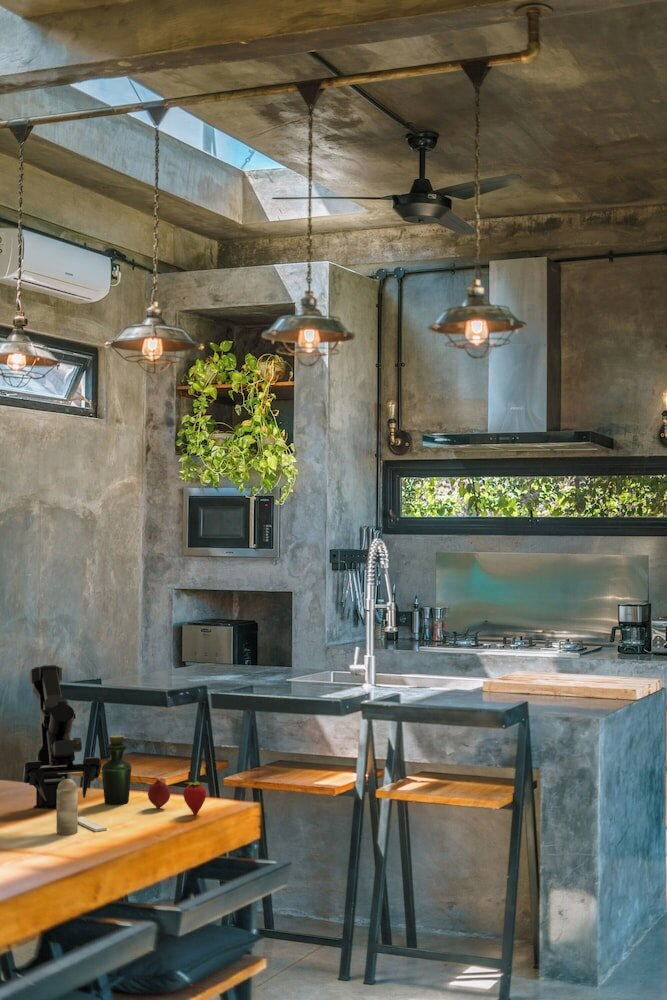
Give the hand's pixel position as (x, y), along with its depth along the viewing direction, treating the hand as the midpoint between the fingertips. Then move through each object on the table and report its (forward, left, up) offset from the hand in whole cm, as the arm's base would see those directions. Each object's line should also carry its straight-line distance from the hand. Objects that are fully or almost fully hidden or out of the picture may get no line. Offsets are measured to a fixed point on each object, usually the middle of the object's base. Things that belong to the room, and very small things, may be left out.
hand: (65, 798), depth 298 cm
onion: (+13, +29, -8) cm, 33 cm away
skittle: (+1, -2, -8) cm, 8 cm away
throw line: (+3, +7, -8) cm, 11 cm away
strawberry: (+26, +23, -8) cm, 36 cm away
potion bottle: (-1, +34, -8) cm, 35 cm away
